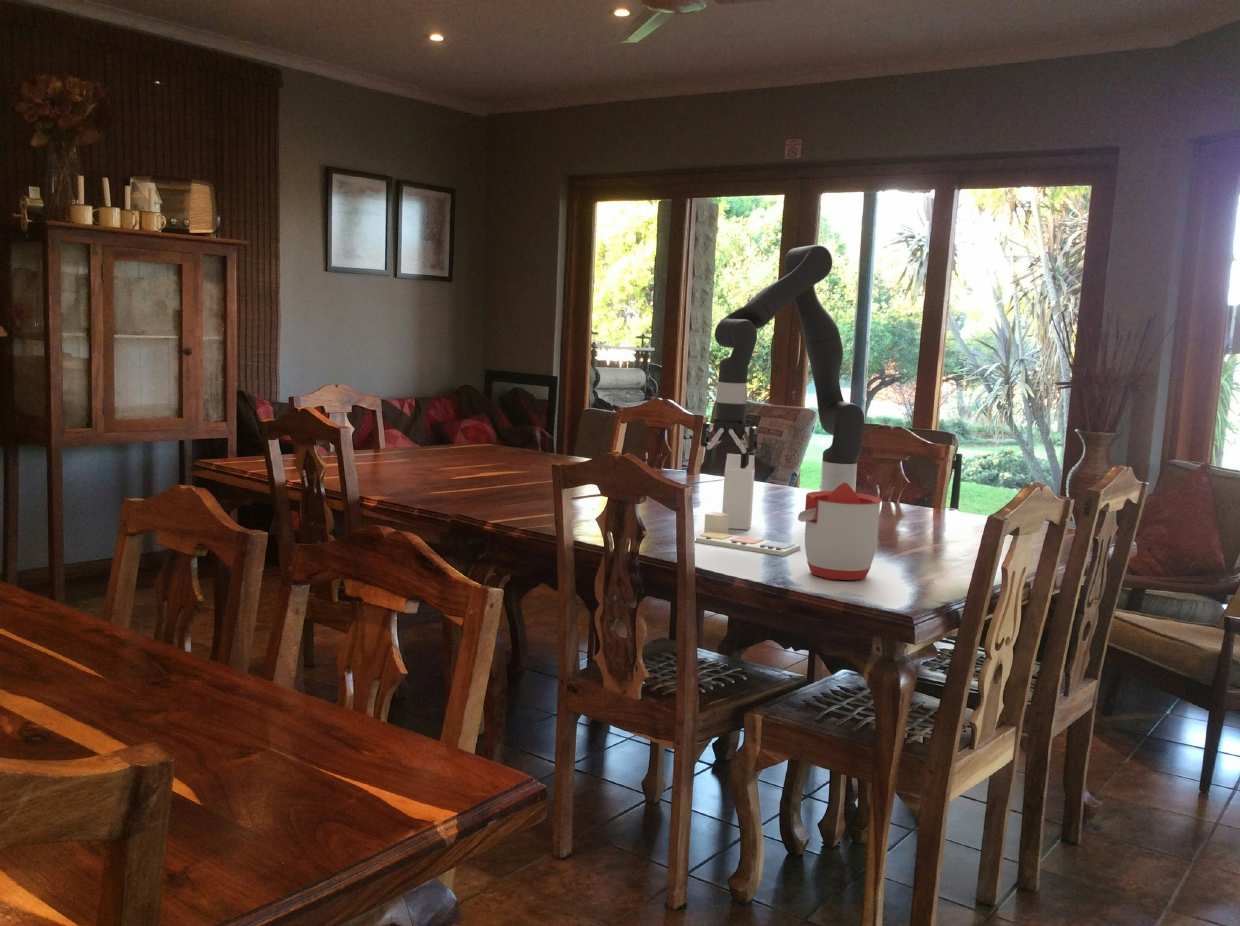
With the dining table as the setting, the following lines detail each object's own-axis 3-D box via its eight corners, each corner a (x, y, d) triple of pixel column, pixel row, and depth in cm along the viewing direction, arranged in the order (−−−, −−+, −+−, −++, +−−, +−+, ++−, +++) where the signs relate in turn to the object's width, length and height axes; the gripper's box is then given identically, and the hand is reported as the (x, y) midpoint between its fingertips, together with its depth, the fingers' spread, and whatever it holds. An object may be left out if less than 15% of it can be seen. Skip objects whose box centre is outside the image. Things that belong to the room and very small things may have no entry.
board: (709, 535, 265) (709, 530, 265) (800, 549, 253) (800, 544, 253) (690, 541, 257) (690, 535, 257) (783, 556, 245) (784, 550, 245)
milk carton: (748, 530, 275) (753, 457, 273) (721, 528, 276) (725, 455, 274) (751, 525, 282) (755, 454, 280) (724, 523, 283) (728, 452, 281)
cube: (712, 531, 272) (713, 511, 271) (728, 533, 270) (729, 514, 269) (704, 533, 268) (705, 513, 267) (720, 536, 266) (721, 516, 265)
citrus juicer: (782, 567, 233) (788, 476, 230) (855, 566, 237) (862, 477, 234) (810, 584, 218) (817, 487, 215) (888, 583, 222) (896, 488, 219)
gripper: (764, 402, 262) (759, 468, 264) (711, 398, 269) (707, 462, 271) (752, 403, 256) (747, 471, 258) (698, 399, 263) (694, 464, 265)
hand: (727, 466), depth 264 cm, fingers open, 8 cm apart
